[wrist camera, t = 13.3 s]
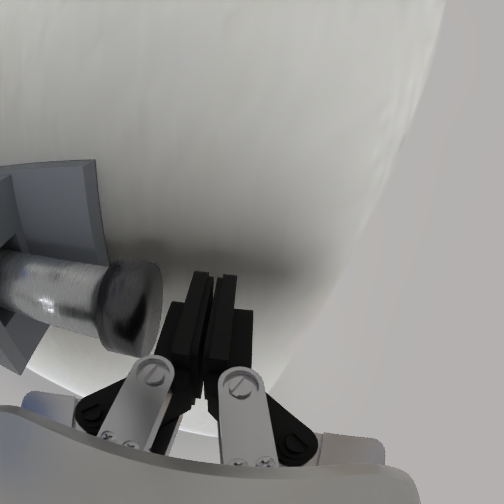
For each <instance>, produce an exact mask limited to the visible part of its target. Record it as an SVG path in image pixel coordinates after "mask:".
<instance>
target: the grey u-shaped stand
mask: <svg viewBox="0 0 504 504" xmlns="http://www.w3.org/2000/svg"><path fill="white" fill-rule="evenodd" d="M0 248H2V249H7V250H12V251H17V252H23V253H28V254H34V255H39V256H45V257H51V258H56V259H62V260H68V261H74V262H81V263H87V264H93V265H100V266H106V267H109V266H110V265H109V260H108V255H107V250H106V245H105V239H104V233H103V227H102V220H101V213H100V206H99V198H98V189H97V179H96V167H95V160H71V161H53V162H40V163H28V164H18V165H9V166H1V167H0ZM49 326H50V324H47V323H44V322H41V321H38V320H35V319H32V318H29V317H26V316H24V315H21V314H18V313H16V312H13V311H10V310H8V309H5V308H3V307H0V365H2V366H4V367H6V368H7V369H10V370H11V371H13V372H15V373H17V374H19V375H22V373H23V371H24V369H25V367H26V365H27V363H28V361H29V360H30V358H31V356H32V354H33V353H34V351H35V349H36V347H37V346H38V344H39V342H40V340H41V339H42V337H43V335H44V334H45V332H46V331H47V329H48V327H49Z"/></svg>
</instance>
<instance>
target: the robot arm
mask: <svg viewBox="0 0 504 504" xmlns="http://www.w3.org/2000/svg"><path fill="white" fill-rule="evenodd" d="M236 282H237V276H236V275H226V274H223V278H220V277H218V278H217V283H216V288H215V293H214V298H213V285H214V277H211V276H209V273H208V272H199V271H195V272H194V275H193V278H192V281H191V284H190V287H189V291H188V294H187V297H186V300H185V303H182V302H175V301H172V303H171V305H170V308H169V310H168V313H167V316H166V319H165V322H164V325H163V328H162V331H161V334H160V337H159V340H158V343H157V346H156V349H155V352H154V355H147V356H144V357H142V358H140V359H139V360H137V361H136V363H135V364H134V365H133V367H132V369H131V371H130V372H129V374H128V376H127V377H126V378H124V379H122V380H120V381H118V382H116V383H114V384H112V385H110V386H108V387H105V388H103V389H101V390H99V391H97V392H95V393H93V394H90V395H88V396H86V397H84V398H83V399H77V398H76V397H75V396H67V395H60V394H53V393H46V392H40V391H31V392H29V393H27V394H26V396H25V397H24V399H23V401H22V405H21V407H17V406H10V405H0V504H421V503H420V498H419V494H418V491H417V488H416V485H415V483H414V481H413V479H412V478H411V477H410V476H409V474H407V473H406V472H404V471H402V470H400V469H397V468H394V467H390V466H386V465H385V449H384V447H383V445H382V443H381V442H379V441H378V440H377V439H373V438H365V437H355V436H346V435H339V434H332V433H323V434H319V433H313V432H312V431H311V430H310V429H309V428H308V427H306V426H305V425H304V424H303V423H302V422H300V421H299V420H298V419H297V418H295V417H294V416H293V415H292V414H291V413H289V412H288V411H287V410H286V409H284V408H283V407H282V406H281V405H280V404H279V403H277V402H276V401H275V400H274V399H273V398H272V397H271V396H269V395H268V394H267V393H266V392H265V387H264V383H263V380H262V378H261V376H260V375H259V374H258V373H257V372H255V371H254V370H252V369H251V364H252V335H253V310H242V309H234V303H235V293H236ZM203 381H204V395H205V399H207V400H208V412H209V413H210V414H211V415H212V416H213V417H214V418H215V419H216V420H217V427H218V440H219V451H220V463H221V464H213V463H205V462H198V461H192V460H185V459H180V458H174V457H169V453H170V450H171V447H172V445H173V442H174V439H175V436H176V434H177V431H178V428H179V426H180V423H181V420H182V417H183V413H185V412H187V411H188V410H190V409H191V405H195V399H196V398H199V399H200V398H201V394H202V388H203Z"/></svg>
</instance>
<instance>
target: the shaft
mask: <svg viewBox="0 0 504 504" xmlns="http://www.w3.org/2000/svg"><path fill="white" fill-rule="evenodd" d="M162 298H163V288H162V277H161V273H160V269H159V267H158V266H157V264H156V263H152V262H144V261H136V260H128V259H117V260H116V261H114V262H113V263H112V264H111V265H110V266H109V267H106V266H100V265H93V264H87V263H81V262H74V261H68V260H62V259H56V258H51V257H45V256H39V255H34V254H28V253H23V252H17V251H12V250H7V249H2V248H0V307H3V308H5V309H8V310H10V311H13V312H16V313H18V314H21V315H24V316H26V317H29V318H32V319H35V320H38V321H41V322H44V323H47V324H50V325H53V326H56V327H60V328H63V329H66V330H70V331H73V332H77V333H80V334H84V335H88V336H91V337H95V338H99V339H100V341H101V343H102V345H103V346H104V347H105V348H106V349H107V350H108V351H112V352H116V353H120V354H124V355H129V356H133V357H138V358H142V357H144V356H147V355H149V354H150V352H151V351H152V349H153V347H154V344H155V341H156V338H157V334H158V330H159V325H160V320H161V312H162Z"/></svg>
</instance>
